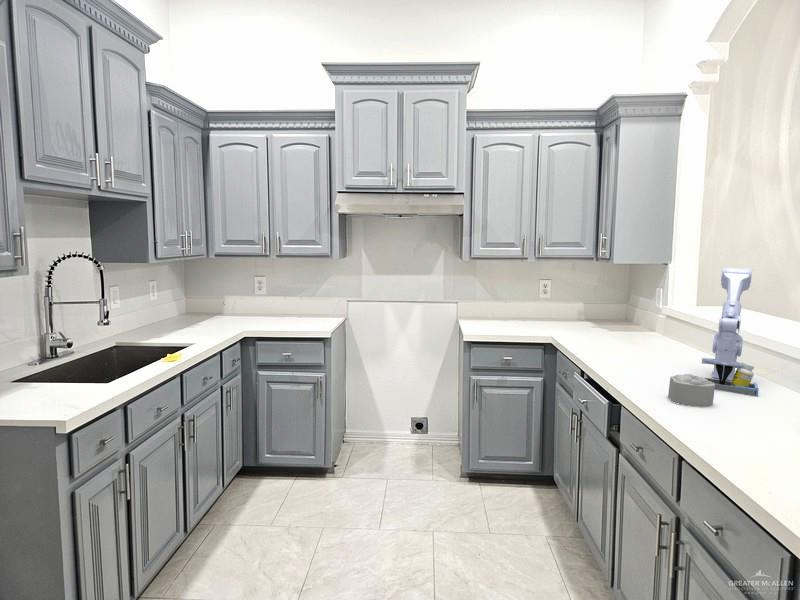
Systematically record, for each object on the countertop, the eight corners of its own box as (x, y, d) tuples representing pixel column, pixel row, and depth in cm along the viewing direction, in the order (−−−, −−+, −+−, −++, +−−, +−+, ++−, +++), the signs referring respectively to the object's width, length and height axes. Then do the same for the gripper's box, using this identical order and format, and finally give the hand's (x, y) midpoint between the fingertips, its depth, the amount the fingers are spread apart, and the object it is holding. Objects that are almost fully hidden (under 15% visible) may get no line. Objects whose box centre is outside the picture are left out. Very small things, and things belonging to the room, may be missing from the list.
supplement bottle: (729, 384, 191) (739, 360, 189) (745, 391, 188) (756, 366, 187) (729, 386, 186) (740, 362, 185) (746, 393, 184) (757, 367, 182)
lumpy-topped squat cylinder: (666, 394, 180) (669, 370, 178) (707, 399, 176) (710, 375, 175) (673, 403, 170) (676, 378, 169) (717, 409, 166) (720, 383, 165)
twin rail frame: (683, 379, 200) (684, 371, 200) (755, 390, 188) (756, 382, 188) (682, 384, 193) (683, 376, 193) (757, 396, 181) (758, 388, 181)
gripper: (703, 348, 188) (699, 384, 190) (750, 354, 181) (745, 391, 183) (703, 345, 195) (699, 379, 196) (749, 351, 187) (744, 386, 189)
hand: (721, 385), depth 190 cm, fingers closed
